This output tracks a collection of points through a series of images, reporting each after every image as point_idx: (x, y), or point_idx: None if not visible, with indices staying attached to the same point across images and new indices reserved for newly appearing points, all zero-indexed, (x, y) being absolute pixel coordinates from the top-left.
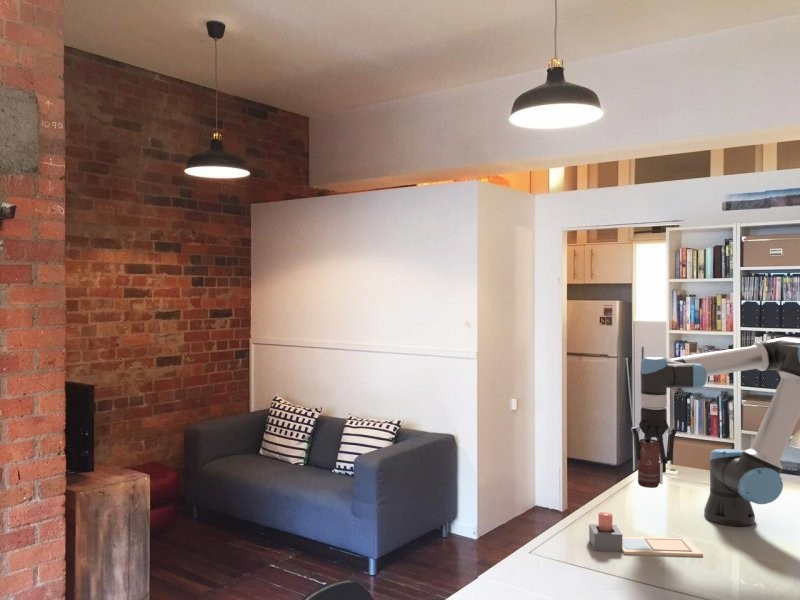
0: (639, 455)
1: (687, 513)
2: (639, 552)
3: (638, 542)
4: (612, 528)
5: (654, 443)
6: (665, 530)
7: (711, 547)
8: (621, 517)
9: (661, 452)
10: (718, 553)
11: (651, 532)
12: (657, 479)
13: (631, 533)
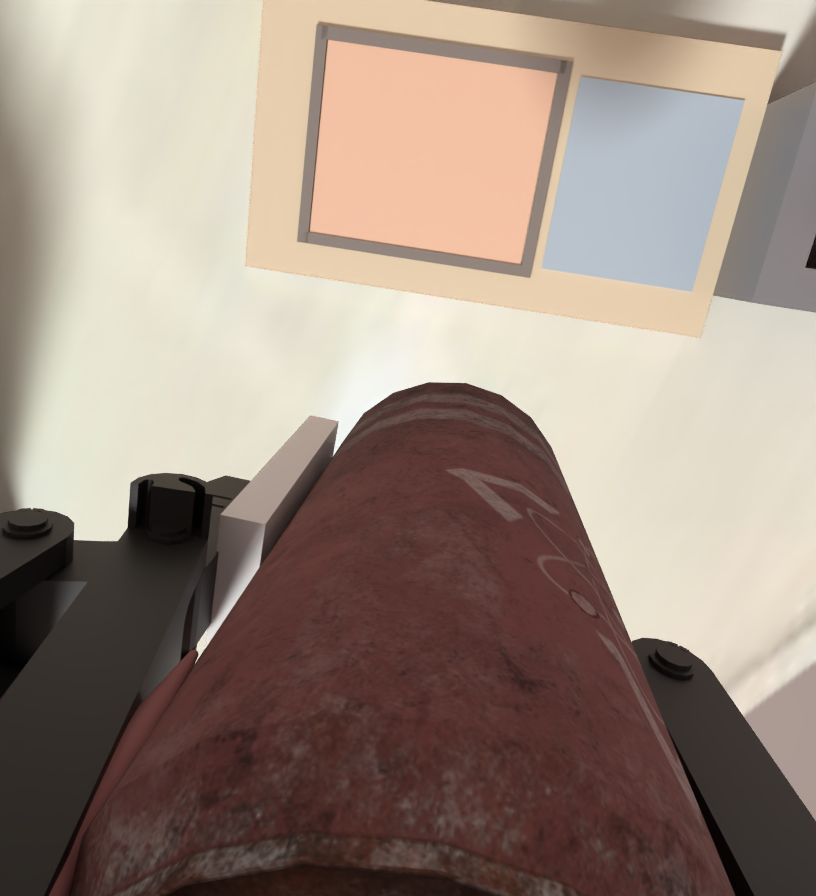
0: (669, 699)
1: None
2: (677, 38)
3: (601, 209)
4: (808, 245)
5: (287, 835)
6: None
7: (155, 147)
8: None
9: (142, 643)
10: (151, 39)
11: None
12: (368, 420)
13: (542, 416)
